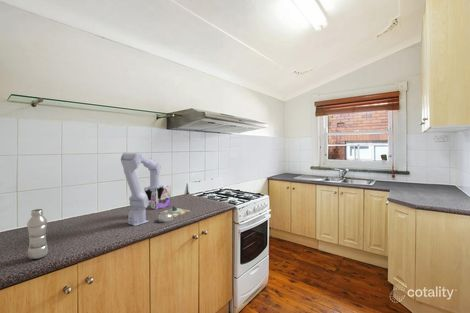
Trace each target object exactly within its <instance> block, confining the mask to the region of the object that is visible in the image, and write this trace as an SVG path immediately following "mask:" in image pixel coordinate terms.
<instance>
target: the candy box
mask: <svg viewBox="0 0 470 313" xmlns="http://www.w3.org/2000/svg"><path fill="white" fill-rule="evenodd" d="M163 185H164V190H163V192H162V195H161V199H158V192H157V189H153V190H151V191H152V194H151V201H150V209H152V210H156V211H157V210H159V209H164V208H169V207H171V185H167V184H163Z"/></svg>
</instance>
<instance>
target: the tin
mask: <svg viewBox="0 0 470 313" xmlns="http://www.w3.org/2000/svg"><path fill="white" fill-rule="evenodd" d="M173 221H174V217H173V213H169V212H166V213H161V214H159V213H158V222H159V223H161V224H167V223H172V222H173Z"/></svg>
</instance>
